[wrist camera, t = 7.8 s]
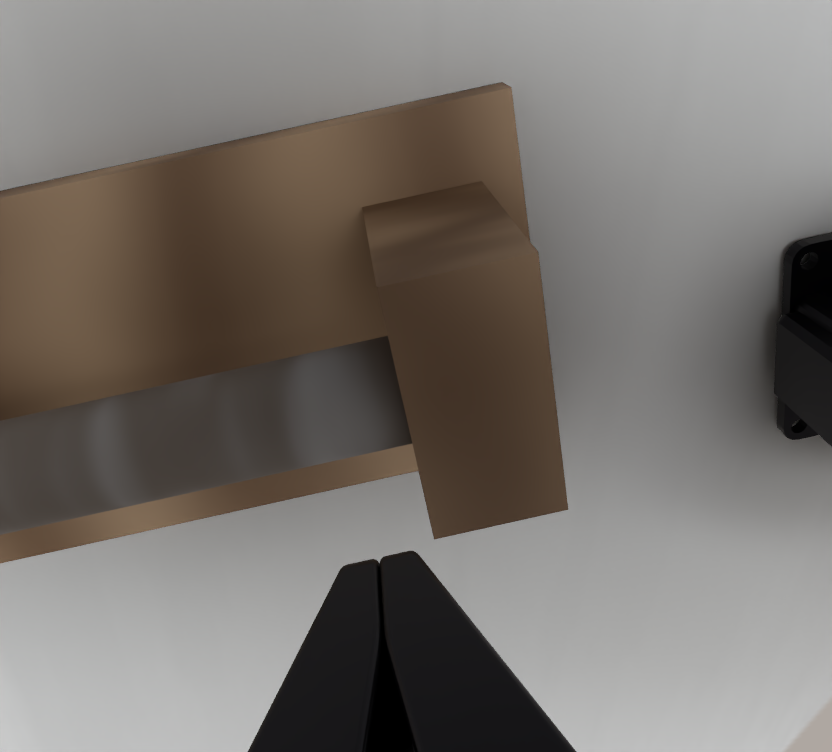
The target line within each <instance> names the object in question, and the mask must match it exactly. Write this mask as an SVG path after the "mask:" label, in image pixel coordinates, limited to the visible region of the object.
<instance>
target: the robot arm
mask: <svg viewBox="0 0 832 752" xmlns="http://www.w3.org/2000/svg"><path fill="white" fill-rule="evenodd" d="M807 253H810V257H809V260H808V261H807V262H806V263H804V264H802V265H801V264H800V262H801V259H802V258H803V257H804V255H805V254H807ZM774 393H775V395H776V396H777V397H778V407H777V427H778V429H779V430H780V431H781V432H782V433H783V434H784V435H785V436H786V437H787V438H789V439H792V440H796V439H802V438H807V437H811V436H816V435H820V436H821V437H822V438H823V439H824V440H825V441H826V442H827V443H828V444H830V445H831V446H832V233H831V234H826V235H822V236H817V237H812V238H808V239H803V240H800V241H798V242H796V243H794V244H793V245H792V246H791V247H790V248H789V249H788V251H787V252H786V255H785V259H784V275H783V297H782V316H781V317H780V319H779V321H778V323H777V333H776V357H775V381H774ZM799 419H800V420H799ZM797 420H799V422H798V423H797V424H796V425H794V426H792V424H793V423H794V422H795V421H797ZM248 752H576V751H575V749H574V748H573V747H572V746H571V744H570V743H569V742H568V741H567V740H566V738H565V737H564V736H563V735H562V733H561V732H560V731H559V730H558V728H557V727H556V726H555V725H554V723H553V722H552V721H551V720H550V718H549V717H548V716H547V715H546V713H545V712H544V711H543V710H542V708H541V707H540V706H539V705H538V703H537V702H536V701H535V700H534V698H533V697H532V696H531V695H530V693H529V692H528V691H527V690H526V688H525V687H524V686H523V685H522V683H521V682H520V681H519V680H518V678H517V677H516V676H515V675H514V673H513V672H512V671H511V670H510V668H509V667H508V666H507V665H506V663H505V662H504V661H503V660H502V658H501V657H500V656H499V655H498V653H497V652H496V651H495V650H494V648H493V647H492V646H491V645H490V643H489V642H488V641H487V640H486V638H485V637H484V636H483V635H482V633H481V632H480V631H479V630H478V628H477V627H476V626H475V625H474V623H473V622H472V621H471V620H470V618H469V617H468V616H467V615H466V613H465V612H464V611H463V610H462V608H461V607H460V606H459V605H458V603H457V602H456V601H455V600H454V598H453V597H452V596H451V595H450V593H449V592H448V591H447V590H446V588H445V587H444V586H443V585H442V583H441V582H440V581H439V580H438V578H437V577H436V576H435V575H434V573H433V572H432V571H431V570H430V568H429V567H428V566H427V565H426V563H425V562H424V561H423V560H422V558H421V557H420V556H419V555H418V554H417V553H416V552H414V551H407V552H402V553H398V554H393V555H389V556H385V557H383V558H382V559H381V561H380V564H379V562H378V561H377V560H374V559H371V560H366V561H362V562H357V563H353V564H348V565H345V566H343V567H342V568H341V569H340V571H339V573H338V575H337V577H336V579H335V581H334V583H333V585H332V587H331V589H330V591H329V593H328V595H327V597H326V599H325V601H324V603H323V605H322V607H321V608H320V610H319V612H318V614H317V616H316V618H315V620H314V622H313V624H312V626H311V628H310V630H309V632H308V634H307V636H306V638H305V640H304V642H303V644H302V646H301V648H300V650H299V652H298V654H297V656H296V658H295V660H294V662H293V664H292V666H291V668H290V670H289V672H288V674H287V676H286V678H285V680H284V681H283V683H282V685H281V687H280V689H279V691H278V693H277V695H276V697H275V699H274V701H273V703H272V705H271V707H270V709H269V711H268V713H267V715H266V717H265V719H264V721H263V723H262V725H261V727H260V729H259V731H258V733H257V735H256V737H255V739H254V741H253V743H252V745H251V747H250V749H249V751H248Z"/></svg>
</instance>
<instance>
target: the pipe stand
mask: <svg viewBox="0 0 832 752" xmlns="http://www.w3.org/2000/svg"><path fill="white" fill-rule="evenodd" d="M415 471H419V475H420V479H421V484H422V488H423V492H424V497H425V501H426V505H427V510H428V514H429V519H430V523H431V527H432V532H433V536H434V539H438V538H442V537H447V536H451V535H456V534H460V533H465V532H469V531H474V530H478V529H483V528H487V527H492V526H496V525H501V524H505V523H510V522H514V521H519V520H523V519H528V518H532V517H537V516H541V515H546V514H550V513H555V512H559V511H564V510H568V504H567V495H566V487H565V478H564V470H563V461H562V453H561V444H560V435H559V427H558V418H557V410H556V401H555V393H554V384H553V376H552V367H551V358H550V350H549V341H548V333H547V324H546V316H545V307H544V299H543V290H542V281H541V273H540V264H539V256H538V251H537V250H536V249H535V248H534V246H533V245H532V244H531V243H530V238H529V230H528V221H527V213H526V205H525V197H524V188H523V180H522V172H521V164H520V155H519V147H518V139H517V131H516V123H515V114H514V106H513V98H512V90H511V87H510V86H508V85H506V84H504V83H503V82H501V83H497V84H492V85H488V86H483V87H478V88H474V89H469V90H464V91H460V92H455V93H451V94H446V95H441V96H437V97H432V98H427V99H423V100H418V101H414V102H409V103H404V104H400V105H395V106H391V107H386V108H381V109H377V110H372V111H367V112H363V113H358V114H354V115H349V116H344V117H340V118H335V119H331V120H326V121H321V122H317V123H312V124H307V125H303V126H298V127H294V128H289V129H284V130H280V131H275V132H271V133H266V134H261V135H257V136H252V137H247V138H243V139H238V140H234V141H229V142H224V143H220V144H215V145H211V146H206V147H201V148H197V149H192V150H187V151H183V152H178V153H174V154H169V155H164V156H160V157H155V158H151V159H146V160H141V161H137V162H132V163H127V164H123V165H118V166H114V167H109V168H104V169H100V170H95V171H91V172H86V173H81V174H77V175H72V176H67V177H63V178H58V179H54V180H49V181H44V182H40V183H35V184H31V185H26V186H21V187H17V188H12V189H7V190H3V191H0V563H4V562H8V561H13V560H17V559H22V558H26V557H31V556H35V555H40V554H45V553H49V552H54V551H58V550H63V549H67V548H72V547H76V546H81V545H85V544H90V543H94V542H99V541H103V540H108V539H112V538H117V537H121V536H126V535H130V534H135V533H139V532H144V531H148V530H153V529H157V528H162V527H166V526H171V525H175V524H180V523H184V522H189V521H193V520H198V519H202V518H207V517H211V516H216V515H220V514H225V513H230V512H234V511H239V510H243V509H248V508H252V507H257V506H261V505H266V504H270V503H275V502H279V501H284V500H288V499H293V498H297V497H302V496H306V495H311V494H315V493H320V492H324V491H329V490H333V489H338V488H342V487H347V486H351V485H356V484H360V483H365V482H369V481H374V480H378V479H383V478H387V477H392V476H396V475H401V474H405V473H410V472H415Z"/></svg>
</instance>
